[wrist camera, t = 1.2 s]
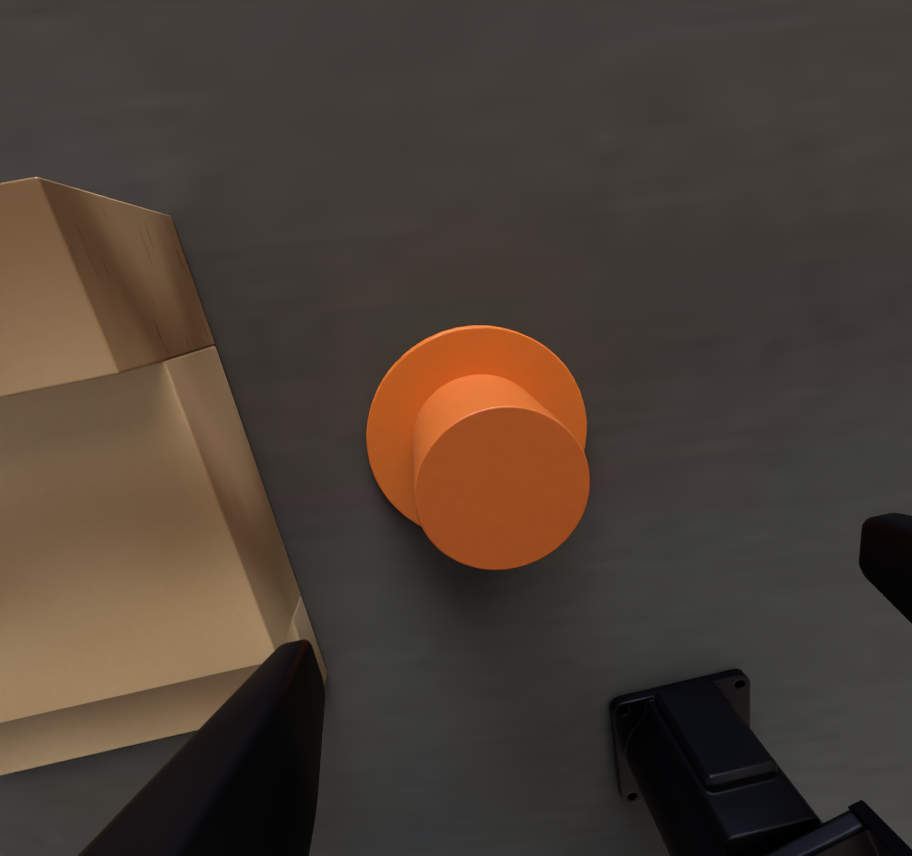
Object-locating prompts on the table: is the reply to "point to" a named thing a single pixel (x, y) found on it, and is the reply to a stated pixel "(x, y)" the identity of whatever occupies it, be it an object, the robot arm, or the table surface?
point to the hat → (482, 445)
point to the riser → (121, 490)
